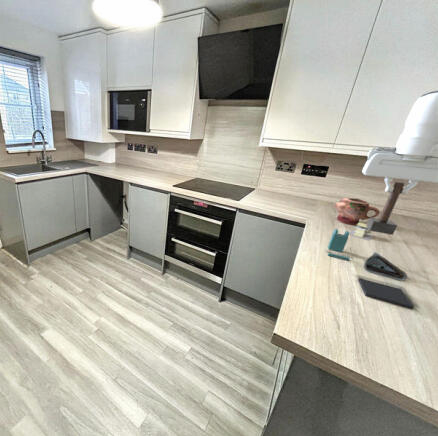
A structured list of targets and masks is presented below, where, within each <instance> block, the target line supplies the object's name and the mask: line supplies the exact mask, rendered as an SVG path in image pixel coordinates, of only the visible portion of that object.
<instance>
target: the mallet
mask: <svg viewBox="0 0 438 436" xmlns="http://www.w3.org/2000/svg"><path fill="white" fill-rule="evenodd" d="M405 184H406V183H405V182H403V181H395V182H394V184H393V187H394V189H393V192H389V195H388V197H387V200H386V202H385V205H384V207H383V209H382V211H381V213H380V216H379V218H376V217H374V218H371V216H369V217H370V218H369V219H367V222H366V224H367V225H366V227H367V228H368V229H369V230H370V231H371V232H374V233H379V234H385V235H392V236H393V235H394V233H395V231H396V229H397V226H398V225H397V224H396V223H395V222H394V221H393V220H390V217H391V215H392V212H393V210H394V208H395V206H396V204H397V201H398V199H399V197H400V195H401V190H402V188H404V186H405Z"/></svg>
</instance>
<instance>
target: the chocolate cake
mask: <svg viewBox="0 0 438 436" xmlns="http://www.w3.org/2000/svg"><path fill="white" fill-rule="evenodd" d="M363 268H364V270H365V271H366V272H369V273H373V274H375V275H380V276H383V277H386V278H390V279H393V280H396V279H397V281H401V282H402V281H403V282H404V281H406V280H407V279H408V274H407V273H406V272H405V271H404V270H403V269H401V268H399V266H397V265H395V264H394V263H393V262H391V261H390V260H388V259H386V258H385V257H384V256H382V255H380V253H378V252H373V253H372V255H371V256H369V257H368V258H367V259H366V260H365V261H364V266H363Z"/></svg>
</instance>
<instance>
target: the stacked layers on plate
mask: <svg viewBox="0 0 438 436" xmlns="http://www.w3.org/2000/svg"><path fill="white" fill-rule="evenodd" d="M366 225H367V223H363V222H358V224H356V227H355V229H353V230H351V231H348V232H349V236H353V237H355V238H359V239H363V240H366V241H371V240H372V239H374V238H375V237H376V236H375V235H372V231H370V230H369V229H368V228H367V227H366Z"/></svg>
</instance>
